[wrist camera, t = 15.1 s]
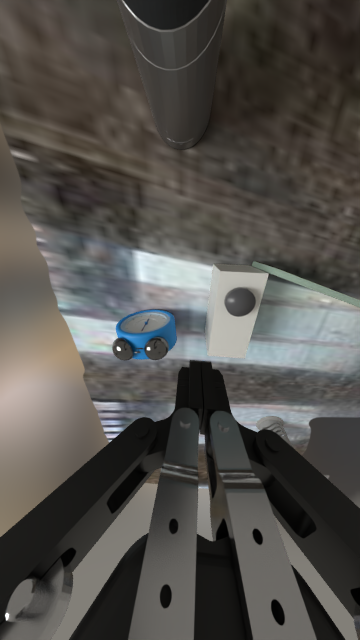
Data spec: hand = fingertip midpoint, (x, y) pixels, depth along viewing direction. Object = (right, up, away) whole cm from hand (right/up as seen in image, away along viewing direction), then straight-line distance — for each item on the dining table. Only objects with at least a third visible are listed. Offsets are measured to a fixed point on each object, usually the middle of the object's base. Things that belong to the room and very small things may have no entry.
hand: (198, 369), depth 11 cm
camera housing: (+10, +8, +28) cm, 30 cm away
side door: (+25, +12, +24) cm, 37 cm away
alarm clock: (-8, +4, +31) cm, 33 cm away
